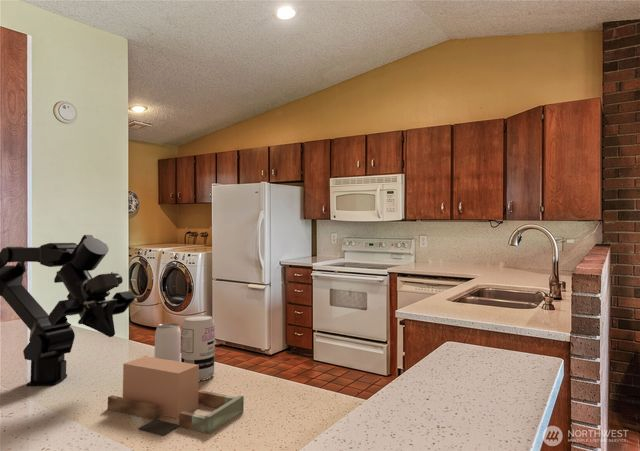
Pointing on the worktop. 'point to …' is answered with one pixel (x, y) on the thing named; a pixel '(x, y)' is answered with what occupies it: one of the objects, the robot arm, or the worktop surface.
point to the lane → (206, 424)
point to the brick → (162, 384)
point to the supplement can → (199, 343)
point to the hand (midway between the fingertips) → (112, 335)
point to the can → (168, 341)
